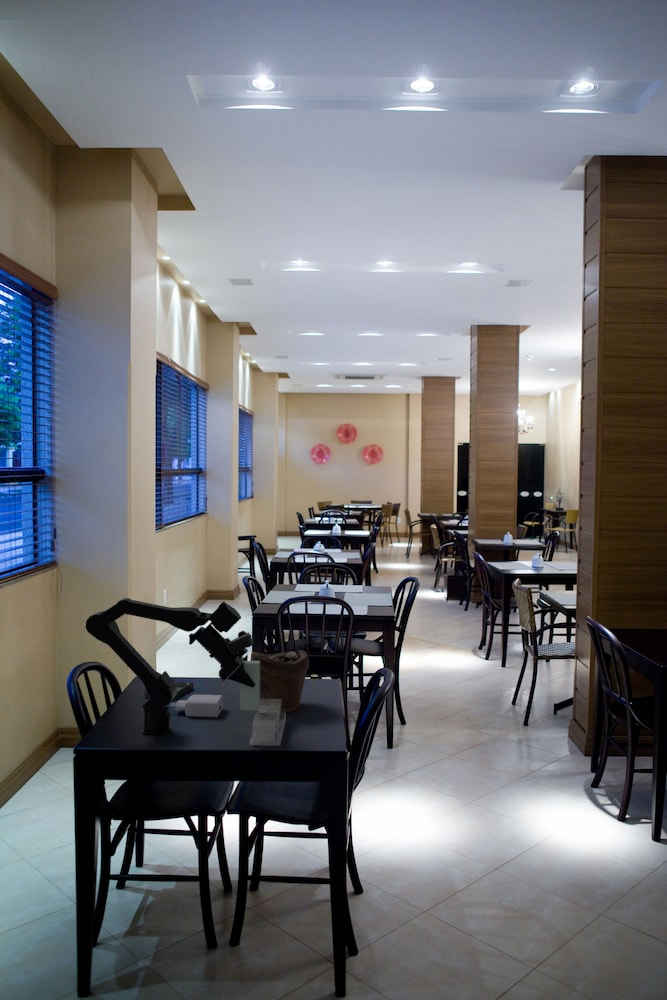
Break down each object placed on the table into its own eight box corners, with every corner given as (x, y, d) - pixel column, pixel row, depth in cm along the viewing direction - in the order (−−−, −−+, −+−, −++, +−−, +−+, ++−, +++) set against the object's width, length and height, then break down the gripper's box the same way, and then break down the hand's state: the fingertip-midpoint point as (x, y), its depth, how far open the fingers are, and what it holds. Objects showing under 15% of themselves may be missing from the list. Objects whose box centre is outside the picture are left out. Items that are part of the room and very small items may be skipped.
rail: (249, 745, 198) (249, 720, 198) (258, 720, 219) (258, 698, 219) (280, 745, 198) (280, 721, 198) (285, 721, 219) (286, 698, 219)
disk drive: (165, 688, 256) (143, 699, 241) (165, 680, 256) (143, 690, 241) (193, 690, 253) (173, 702, 239) (193, 682, 253) (173, 693, 239)
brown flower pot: (319, 701, 240) (318, 645, 239) (293, 719, 221) (292, 658, 221) (268, 696, 246) (268, 641, 246) (239, 713, 228) (238, 653, 227)
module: (240, 710, 206) (240, 664, 206) (242, 705, 211) (242, 660, 211) (258, 710, 206) (258, 664, 206) (260, 705, 211) (260, 660, 211)
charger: (174, 708, 231) (222, 709, 231) (166, 717, 222) (217, 718, 222) (174, 692, 231) (222, 694, 231) (166, 701, 222) (217, 702, 222)
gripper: (231, 629, 199) (272, 671, 199) (240, 617, 218) (278, 656, 218) (201, 659, 199) (243, 701, 199) (213, 645, 218) (251, 683, 218)
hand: (255, 684), depth 209 cm, fingers closed on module, 4 cm apart
